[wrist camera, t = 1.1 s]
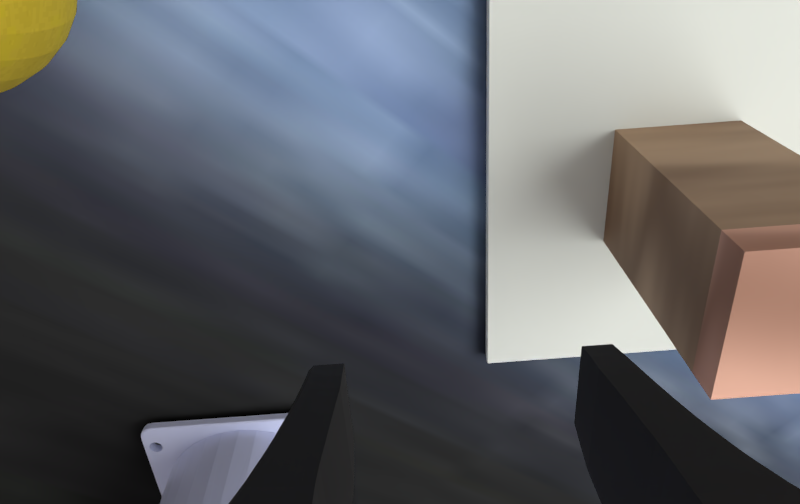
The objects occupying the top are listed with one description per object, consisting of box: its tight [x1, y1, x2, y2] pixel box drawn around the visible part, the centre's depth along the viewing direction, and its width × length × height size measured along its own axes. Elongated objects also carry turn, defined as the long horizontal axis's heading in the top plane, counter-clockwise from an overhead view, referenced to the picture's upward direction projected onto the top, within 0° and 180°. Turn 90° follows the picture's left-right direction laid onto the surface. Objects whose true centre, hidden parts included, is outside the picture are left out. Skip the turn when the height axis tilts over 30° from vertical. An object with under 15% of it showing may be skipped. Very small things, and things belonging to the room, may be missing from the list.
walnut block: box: [603, 120, 800, 400], centre depth 17 cm, size 4×4×8 cm
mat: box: [486, 0, 800, 363], centre depth 21 cm, size 14×18×1 cm
